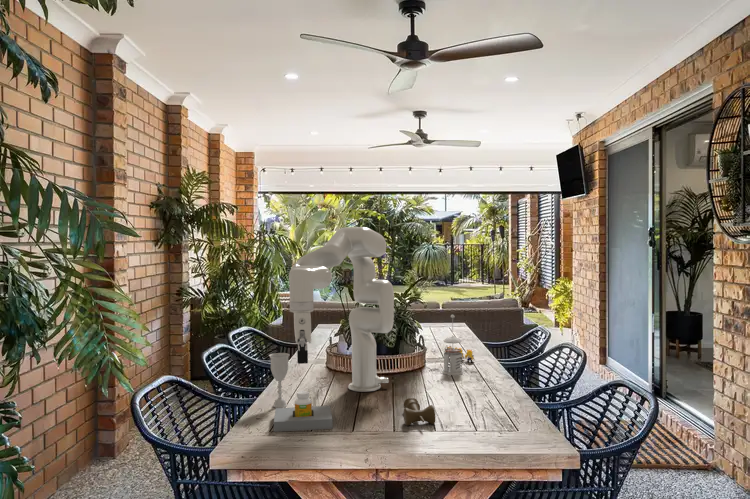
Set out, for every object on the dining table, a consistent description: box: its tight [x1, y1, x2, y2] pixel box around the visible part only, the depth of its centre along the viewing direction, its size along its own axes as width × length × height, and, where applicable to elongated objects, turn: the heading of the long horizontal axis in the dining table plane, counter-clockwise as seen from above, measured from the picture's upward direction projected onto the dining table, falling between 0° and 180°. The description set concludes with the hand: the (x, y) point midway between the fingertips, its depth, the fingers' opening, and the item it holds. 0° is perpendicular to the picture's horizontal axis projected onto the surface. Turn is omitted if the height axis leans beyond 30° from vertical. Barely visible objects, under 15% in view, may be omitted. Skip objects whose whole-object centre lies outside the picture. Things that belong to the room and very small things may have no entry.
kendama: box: [403, 397, 436, 427], centre depth 187 cm, size 6×10×20 cm
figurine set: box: [444, 345, 476, 364], centre depth 272 cm, size 3×16×7 cm, turn 48°
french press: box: [441, 314, 465, 376], centre depth 249 cm, size 10×12×25 cm
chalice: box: [268, 352, 290, 409], centre depth 204 cm, size 7×7×18 cm
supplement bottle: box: [294, 390, 313, 417], centre depth 186 cm, size 5×5×10 cm
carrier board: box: [273, 405, 334, 432], centre depth 186 cm, size 18×14×3 cm
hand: (302, 359), depth 185 cm, fingers open, 9 cm apart
